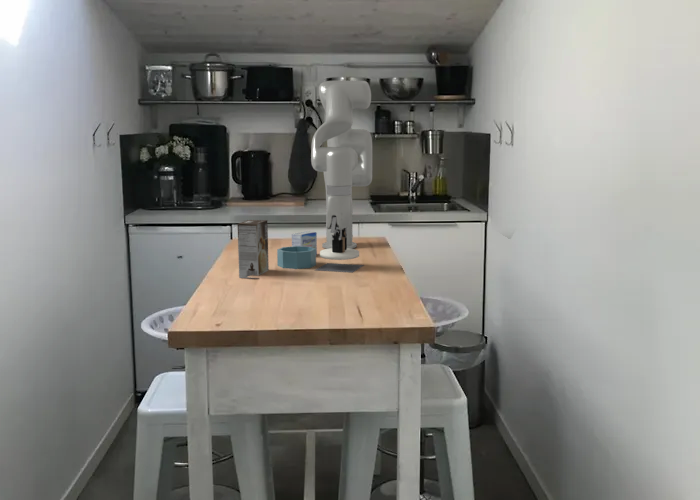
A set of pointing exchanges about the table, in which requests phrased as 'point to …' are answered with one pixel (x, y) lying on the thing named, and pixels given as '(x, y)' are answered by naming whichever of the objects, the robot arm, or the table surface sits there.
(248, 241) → the coffee box
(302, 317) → the table surface
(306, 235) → the medicine box
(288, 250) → the pot
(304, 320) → the table surface
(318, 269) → the mat
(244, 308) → the table surface
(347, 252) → the lid
